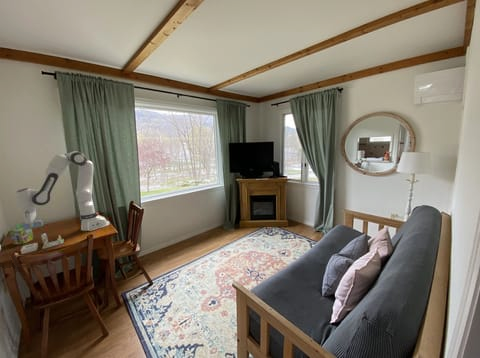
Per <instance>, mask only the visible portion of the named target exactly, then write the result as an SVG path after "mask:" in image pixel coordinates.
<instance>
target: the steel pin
mask: <svg viewBox="0 0 480 358" xmlns="http://www.w3.org/2000/svg"><path fill="white" fill-rule="evenodd" d="M40 237H41V240H42V244H43V245H44V242H45V239H46V238H48V236H47V233H46V232H44V233H41V234H40Z"/></svg>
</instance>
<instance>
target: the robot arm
mask: <svg viewBox="0 0 480 358" xmlns="http://www.w3.org/2000/svg"><path fill="white" fill-rule="evenodd" d="M71 164H73V165H77V167H78V170H77V171H78V173H77V184H76V185H77V186H76V191H75V194H76V200H77V206H78V210H79V214H80V215H79V220H80V222H81V226H80V227H81V228H80V231H83V232H87V231H88V232H91V231H95V230H99V229H102V228H105V227H108V226H109V225H110V224H111V223H110V221H109V220H107V219H106V218H105V216H103V215H99V214H100V213H99V212H98V211H95V205H94V200H93V186H94V185H93V184H94V183H93V182H94V169H95V168H94V163H93V162H92V160H89V159H87V157H86V156H85V154H84V153H83V152H81V151H80V152H79V151H76V150H75V151H74V150H73V151H68V152H67V153H65V154H61V153H60V154H59V153H58V154H55V155H54V156H53V157H52V159H51V160H50V161H49V163H48V165H47V167H46V170H45V180H44V181H43V182H44V183H43V184H42V186H41V187H40V189H32V188H29V187H25V188H22V189H19V190H17V191H16V192H15V200H16V202H17V203H18V210H19V211H20V212H19V213H20V214H22V215H23V220H24V221H23V222H24V223H25V224H30V227H33V226H34V224H33V221H36V220H35V218H36V217H37V206H45V205H46V204H48V203H49V202H50V201H51V193H52V191H53V188H54V187H55V184H56V183H57V181H58V180H59V179H60V178H61V176H62V175H63V174H64V173H65V171H66V169H67V167H68V166H69V165H71ZM98 228H99V229H98Z"/></svg>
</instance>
